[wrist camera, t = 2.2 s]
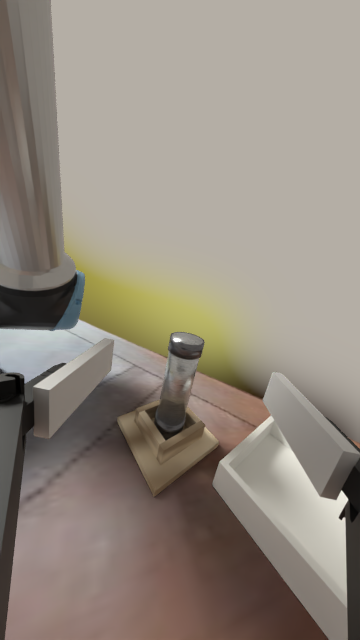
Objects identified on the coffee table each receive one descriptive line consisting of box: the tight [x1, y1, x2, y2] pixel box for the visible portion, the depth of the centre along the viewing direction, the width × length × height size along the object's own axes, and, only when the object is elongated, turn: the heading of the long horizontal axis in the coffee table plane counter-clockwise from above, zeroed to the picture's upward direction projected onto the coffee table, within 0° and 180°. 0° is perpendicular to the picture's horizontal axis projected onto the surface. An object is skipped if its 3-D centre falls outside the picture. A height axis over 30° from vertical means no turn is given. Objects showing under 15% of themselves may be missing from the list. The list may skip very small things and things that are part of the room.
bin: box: [212, 416, 348, 640], centre depth 21 cm, size 16×16×4 cm
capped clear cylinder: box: [154, 332, 204, 441], centre depth 26 cm, size 5×5×16 cm
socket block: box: [117, 400, 219, 497], centre depth 28 cm, size 12×12×4 cm
